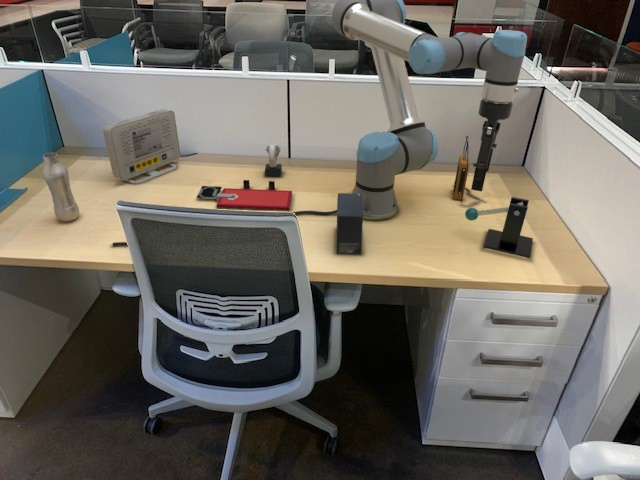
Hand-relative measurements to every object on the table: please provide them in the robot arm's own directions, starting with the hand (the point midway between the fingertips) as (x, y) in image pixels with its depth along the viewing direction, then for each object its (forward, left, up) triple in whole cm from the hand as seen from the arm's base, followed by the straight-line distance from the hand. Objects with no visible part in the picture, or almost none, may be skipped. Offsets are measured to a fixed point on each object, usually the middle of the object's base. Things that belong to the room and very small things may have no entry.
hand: (480, 179), depth 128 cm
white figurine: (-41, +59, -18) cm, 74 cm away
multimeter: (+15, +21, -18) cm, 32 cm away
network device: (-82, +74, -18) cm, 112 cm away
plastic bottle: (-107, +48, -18) cm, 118 cm away
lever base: (+7, -8, -18) cm, 21 cm away
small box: (-34, +9, -18) cm, 39 cm away
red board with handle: (-55, +44, -18) cm, 72 cm away
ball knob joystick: (+4, -5, -10) cm, 11 cm away
